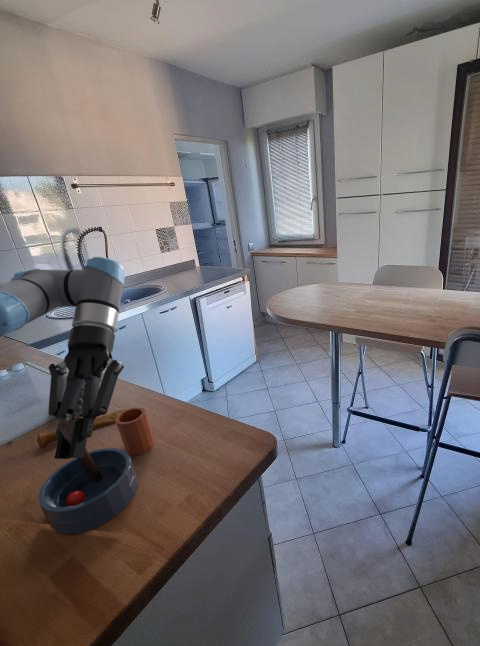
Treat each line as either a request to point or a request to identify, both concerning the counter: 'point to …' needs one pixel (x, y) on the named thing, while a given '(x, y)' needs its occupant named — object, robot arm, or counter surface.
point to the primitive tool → (98, 423)
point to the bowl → (89, 491)
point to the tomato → (75, 498)
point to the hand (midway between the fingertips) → (69, 457)
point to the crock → (135, 431)
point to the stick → (87, 461)
